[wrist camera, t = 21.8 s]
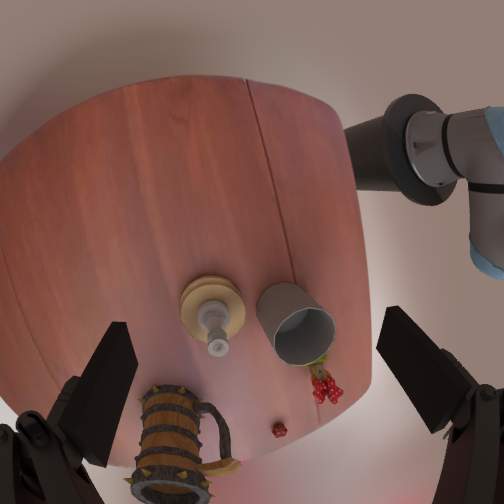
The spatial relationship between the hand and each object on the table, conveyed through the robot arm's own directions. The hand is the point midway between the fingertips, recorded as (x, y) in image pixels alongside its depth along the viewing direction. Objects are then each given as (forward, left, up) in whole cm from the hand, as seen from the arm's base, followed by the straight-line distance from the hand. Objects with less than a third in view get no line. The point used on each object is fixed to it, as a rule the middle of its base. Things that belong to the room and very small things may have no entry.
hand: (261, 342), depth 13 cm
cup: (-14, +2, -27) cm, 30 cm away
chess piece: (-5, +8, -24) cm, 25 cm away
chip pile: (-5, +8, -27) cm, 28 cm away
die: (-32, +23, -27) cm, 47 cm away
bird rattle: (-26, +7, -27) cm, 38 cm away
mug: (-12, +27, -27) cm, 40 cm away
